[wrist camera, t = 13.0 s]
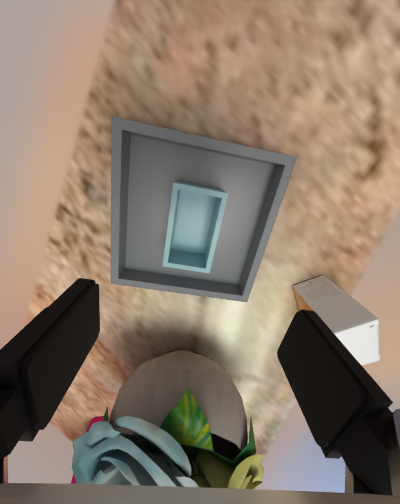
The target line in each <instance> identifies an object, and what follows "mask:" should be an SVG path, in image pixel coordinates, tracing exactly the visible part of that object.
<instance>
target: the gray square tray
mask: <svg viewBox="0 0 400 504" xmlns="http://www.w3.org/2000/svg"><path fill="white" fill-rule="evenodd" d="M296 159H297V157H294V156H289V155H285V154H280V153H276V152H271V151H267V150H262V149H258V148H253V147H249V146H244V145H240V144H235V143H231V142H226V141H222V140H217V139H213V138H208V137H204V136H199V135H195V134H190V133H186V132H181V131H177V130H172V129H168V128H164V127H159V126H155V125H150V124H146V123H141V122H137V121H132V120H128V119H123V118H119V117H114V116H112V168H111V284H117V285H124V286H132V287H139V288H146V289H154V290H161V291H168V292H176V293H183V294H190V295H198V296H205V297H212V298H220V299H227V300H235V301H242V302H247V301H248V298H249V295H250V292H251V289H252V286H253V283H254V280H255V277H256V275H257V272H258V269H259V266H260V263H261V260H262V257H263V254H264V251H265V248H266V246H267V243H268V240H269V237H270V234H271V231H272V228H273V225H274V222H275V219H276V217H277V214H278V211H279V208H280V205H281V202H282V199H283V196H284V193H285V190H286V188H287V185H288V182H289V179H290V176H291V173H292V170H293V167H294V164H295V162H296ZM177 180H179V181H183V182H188V183H193V184H198V185H203V186H208V187H213V188H218V189H222V190H224V191H226V192H227V193H229V194H228V198H227V202H226V207H225V211H224V215H223V219H222V223H221V227H220V232H219V236H218V240H217V244H216V248H215V252H214V256H213V261H212V265H211V269H210V273H203V272H197V271H190V270H184V269H177V268H170V267H164V266H162V265H163V257H164V250H165V242H166V234H167V227H168V219H169V211H170V204H171V196H172V188H173V182H175V181H177Z"/></svg>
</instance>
